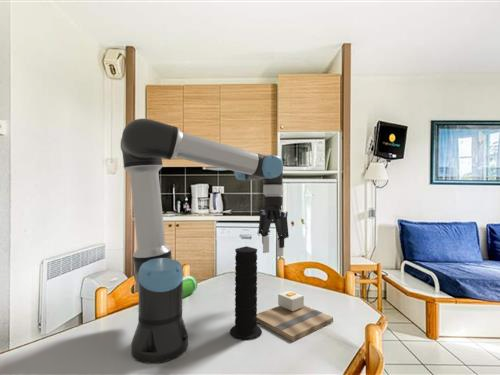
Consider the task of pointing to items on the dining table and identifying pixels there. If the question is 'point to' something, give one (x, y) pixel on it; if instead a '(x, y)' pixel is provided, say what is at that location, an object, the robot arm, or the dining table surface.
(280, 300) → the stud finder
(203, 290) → the dining table surface
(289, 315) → the subfloor panel
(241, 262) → the handle grip
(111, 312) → the dining table surface
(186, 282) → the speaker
